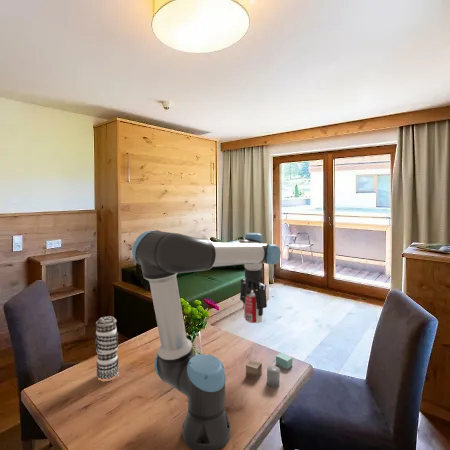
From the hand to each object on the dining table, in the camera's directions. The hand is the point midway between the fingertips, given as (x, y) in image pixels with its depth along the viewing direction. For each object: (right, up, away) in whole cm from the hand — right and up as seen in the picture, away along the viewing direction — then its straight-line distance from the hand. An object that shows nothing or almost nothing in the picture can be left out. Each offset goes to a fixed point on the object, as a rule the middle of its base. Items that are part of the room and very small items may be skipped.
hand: (252, 319), depth 133 cm
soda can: (0, -1, 0) cm, 1 cm away
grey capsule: (+7, -22, -12) cm, 26 cm away
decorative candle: (-61, -22, -7) cm, 65 cm away
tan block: (0, -22, -6) cm, 23 cm away
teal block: (+14, -21, +2) cm, 26 cm away
